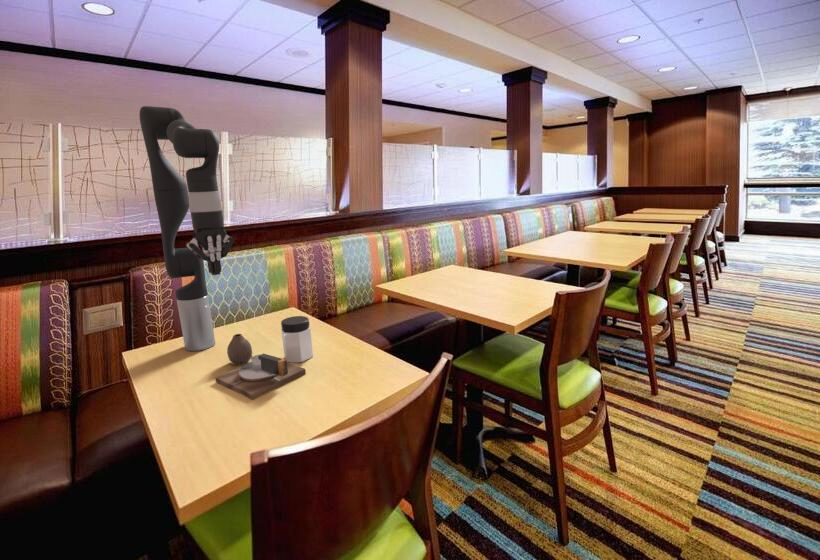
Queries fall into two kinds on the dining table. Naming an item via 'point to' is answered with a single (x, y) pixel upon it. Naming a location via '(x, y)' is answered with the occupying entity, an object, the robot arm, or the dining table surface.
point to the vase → (239, 350)
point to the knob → (263, 368)
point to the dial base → (260, 387)
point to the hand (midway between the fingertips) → (215, 274)
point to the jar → (296, 339)
